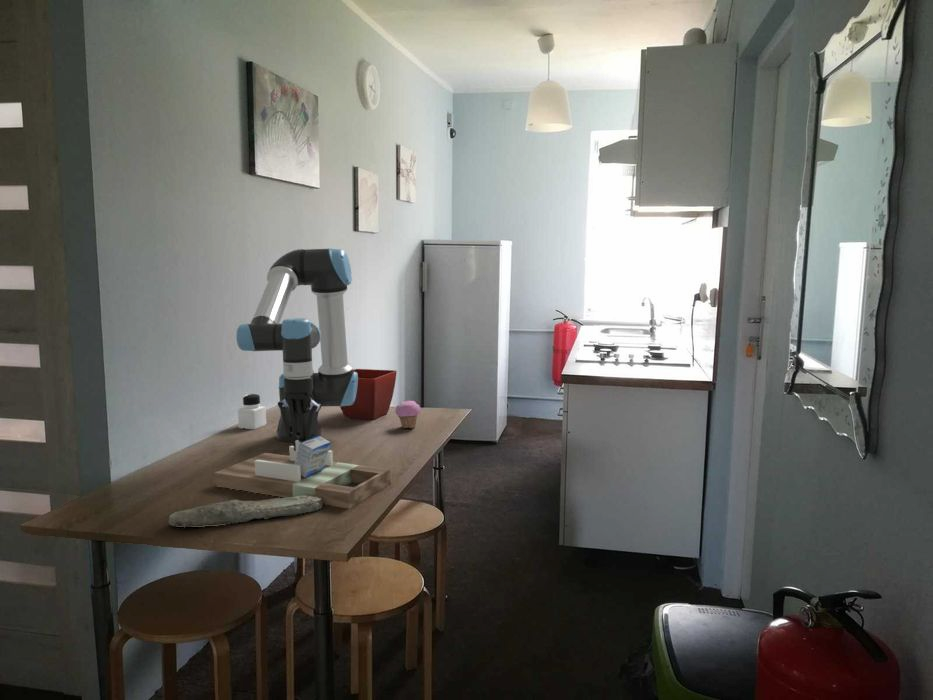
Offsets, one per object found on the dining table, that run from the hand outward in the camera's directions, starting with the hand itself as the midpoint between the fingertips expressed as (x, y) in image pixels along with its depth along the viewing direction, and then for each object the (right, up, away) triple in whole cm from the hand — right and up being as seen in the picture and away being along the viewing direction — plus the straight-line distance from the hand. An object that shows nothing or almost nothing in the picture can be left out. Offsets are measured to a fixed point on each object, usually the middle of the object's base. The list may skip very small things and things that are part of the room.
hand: (301, 463), depth 179 cm
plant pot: (+5, +5, +82) cm, 82 cm away
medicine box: (+2, -2, -1) cm, 3 cm away
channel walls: (-2, -2, +2) cm, 4 cm away
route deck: (0, -6, +1) cm, 6 cm away
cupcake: (+23, +2, +61) cm, 66 cm away
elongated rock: (-8, -10, -20) cm, 24 cm away
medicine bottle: (-35, +2, +67) cm, 75 cm away
